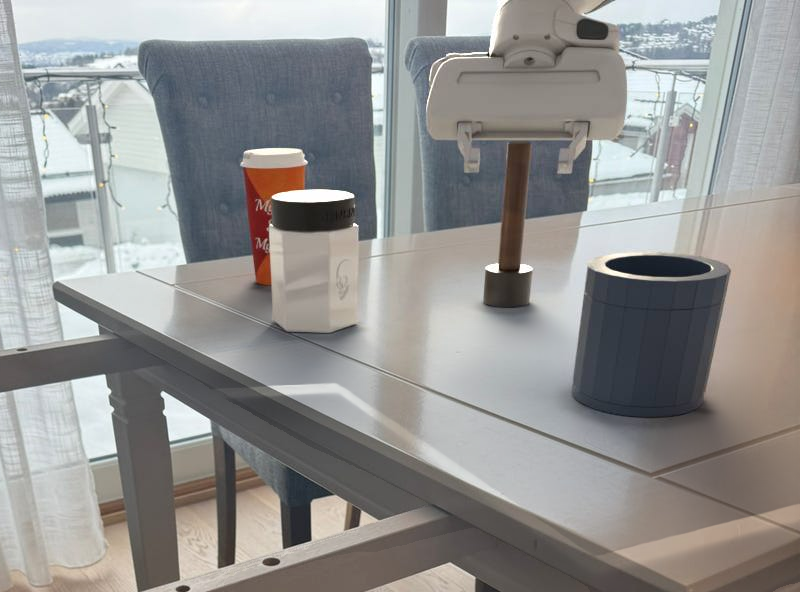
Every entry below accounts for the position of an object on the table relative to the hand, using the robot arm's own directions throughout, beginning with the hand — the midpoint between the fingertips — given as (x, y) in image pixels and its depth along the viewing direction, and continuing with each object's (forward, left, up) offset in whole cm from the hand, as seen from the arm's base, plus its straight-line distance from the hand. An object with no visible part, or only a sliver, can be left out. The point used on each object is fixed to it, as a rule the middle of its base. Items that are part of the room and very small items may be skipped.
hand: (517, 169), depth 95 cm
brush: (0, 0, -13) cm, 13 cm away
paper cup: (+18, -22, -13) cm, 31 cm away
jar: (+22, -2, -13) cm, 26 cm away
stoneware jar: (+8, +31, -13) cm, 35 cm away
